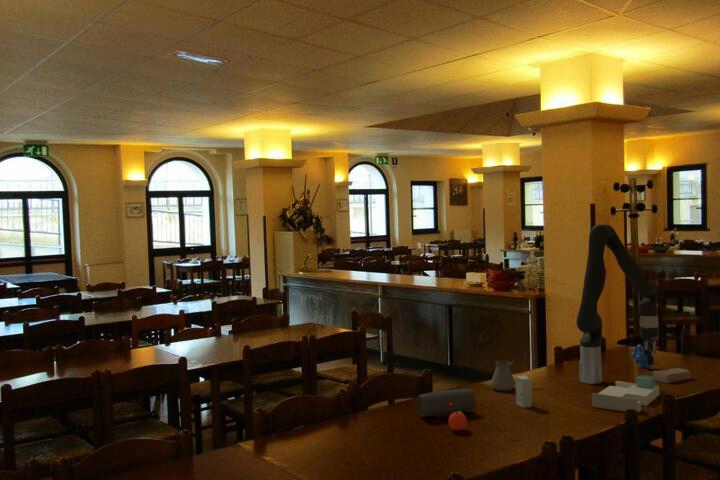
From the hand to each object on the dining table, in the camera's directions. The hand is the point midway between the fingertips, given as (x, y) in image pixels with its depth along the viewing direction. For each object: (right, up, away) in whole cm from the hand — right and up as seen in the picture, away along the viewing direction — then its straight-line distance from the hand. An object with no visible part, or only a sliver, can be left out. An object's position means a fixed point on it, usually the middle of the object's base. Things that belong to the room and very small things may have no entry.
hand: (650, 364), depth 290 cm
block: (-5, -8, -6) cm, 11 cm away
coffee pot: (-58, -14, +18) cm, 62 cm away
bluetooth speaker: (-93, -17, -21) cm, 97 cm away
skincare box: (-59, -15, -13) cm, 62 cm away
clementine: (-91, -17, -41) cm, 101 cm away
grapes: (+14, -10, +43) cm, 47 cm away
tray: (-16, -13, -12) cm, 24 cm away
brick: (+18, -11, +19) cm, 29 cm away
